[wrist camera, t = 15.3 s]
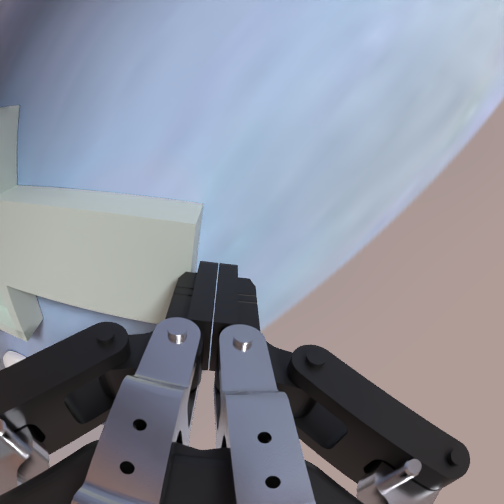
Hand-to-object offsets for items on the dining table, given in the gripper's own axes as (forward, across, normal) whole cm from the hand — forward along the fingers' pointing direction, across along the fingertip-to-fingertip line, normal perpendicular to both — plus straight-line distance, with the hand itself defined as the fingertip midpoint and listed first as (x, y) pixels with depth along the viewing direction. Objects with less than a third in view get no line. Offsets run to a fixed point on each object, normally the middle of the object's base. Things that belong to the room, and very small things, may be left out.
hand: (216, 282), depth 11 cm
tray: (+2, +12, 0) cm, 12 cm away
